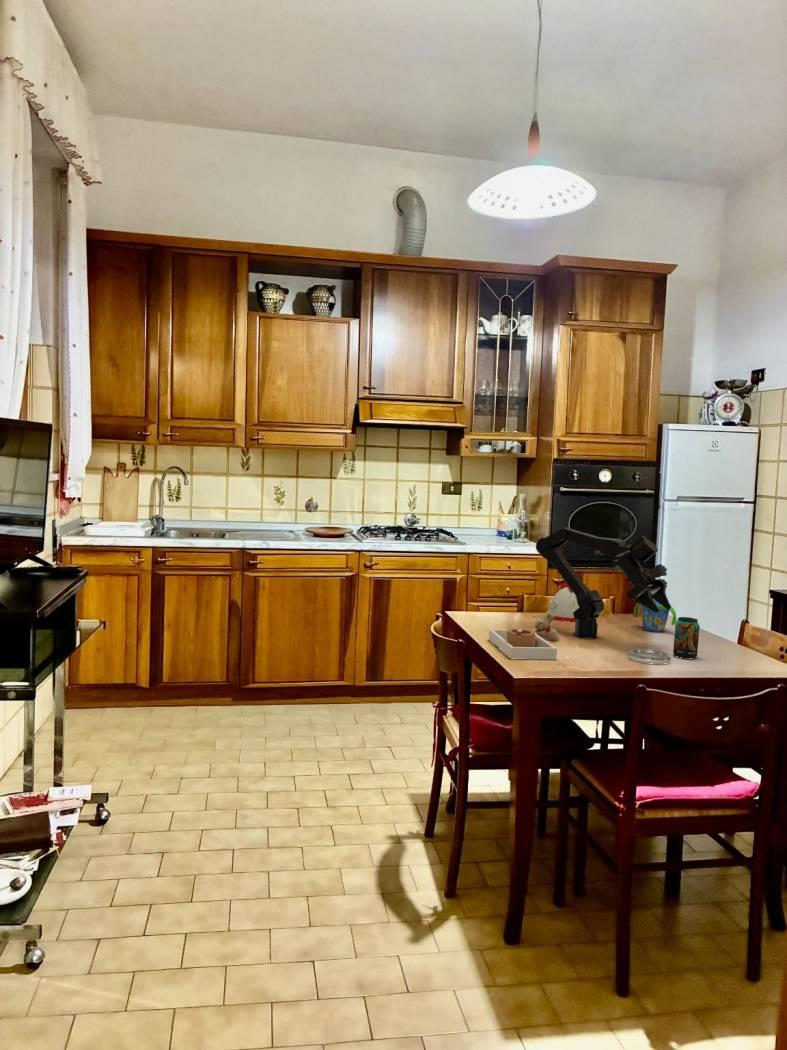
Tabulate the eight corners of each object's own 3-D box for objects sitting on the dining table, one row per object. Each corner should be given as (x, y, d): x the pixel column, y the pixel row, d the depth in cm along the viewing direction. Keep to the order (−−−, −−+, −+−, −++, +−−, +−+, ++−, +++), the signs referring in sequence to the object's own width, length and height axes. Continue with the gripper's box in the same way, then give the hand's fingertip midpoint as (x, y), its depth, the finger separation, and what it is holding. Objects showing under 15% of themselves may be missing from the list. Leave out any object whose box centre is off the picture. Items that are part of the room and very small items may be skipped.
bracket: (533, 658, 228) (534, 635, 227) (505, 656, 230) (506, 633, 229) (534, 645, 246) (536, 623, 245) (508, 642, 247) (510, 621, 247)
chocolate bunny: (535, 637, 256) (537, 607, 255) (559, 640, 254) (561, 610, 253) (533, 641, 251) (535, 610, 250) (558, 643, 249) (560, 613, 248)
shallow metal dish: (638, 664, 226) (639, 658, 226) (620, 654, 238) (620, 647, 238) (678, 665, 228) (678, 658, 228) (657, 654, 240) (658, 648, 240)
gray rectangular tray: (510, 659, 225) (511, 647, 224) (488, 640, 248) (489, 629, 248) (556, 660, 227) (557, 648, 227) (530, 640, 250) (530, 630, 250)
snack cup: (681, 633, 275) (683, 605, 274) (663, 636, 269) (665, 607, 268) (644, 624, 287) (646, 597, 287) (626, 627, 281) (628, 599, 280)
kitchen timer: (556, 622, 284) (559, 582, 283) (541, 614, 298) (544, 576, 296) (591, 622, 287) (594, 582, 286) (575, 614, 301) (578, 576, 299)
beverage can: (680, 659, 235) (684, 621, 234) (668, 654, 242) (671, 616, 241) (701, 659, 237) (704, 621, 236) (688, 653, 243) (691, 616, 242)
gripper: (639, 557, 239) (671, 598, 232) (663, 554, 252) (694, 592, 246) (613, 579, 244) (644, 619, 238) (638, 574, 258) (668, 612, 252)
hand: (664, 610), depth 243 cm, fingers open, 9 cm apart
